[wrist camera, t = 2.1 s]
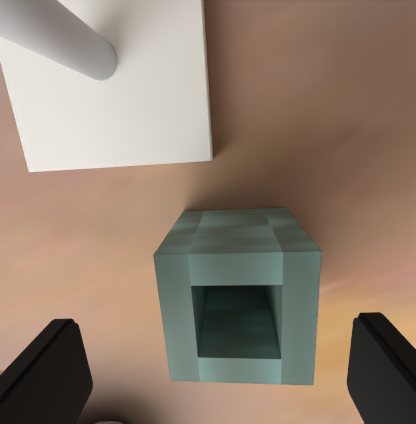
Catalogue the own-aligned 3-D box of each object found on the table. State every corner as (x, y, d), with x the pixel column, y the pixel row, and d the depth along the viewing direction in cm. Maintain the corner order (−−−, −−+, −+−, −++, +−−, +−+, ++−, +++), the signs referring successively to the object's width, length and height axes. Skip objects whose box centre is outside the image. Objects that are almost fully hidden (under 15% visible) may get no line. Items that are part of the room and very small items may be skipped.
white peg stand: (199, -66, 11) (29, -1180, 2) (213, 158, 14) (174, 195, 4) (0, -34, 12) (-782, -628, 3) (48, 169, 15) (-268, 217, 5)
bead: (285, 207, 14) (321, 251, 9) (283, 297, 16) (313, 385, 10) (183, 211, 15) (153, 255, 9) (191, 297, 17) (170, 380, 11)
